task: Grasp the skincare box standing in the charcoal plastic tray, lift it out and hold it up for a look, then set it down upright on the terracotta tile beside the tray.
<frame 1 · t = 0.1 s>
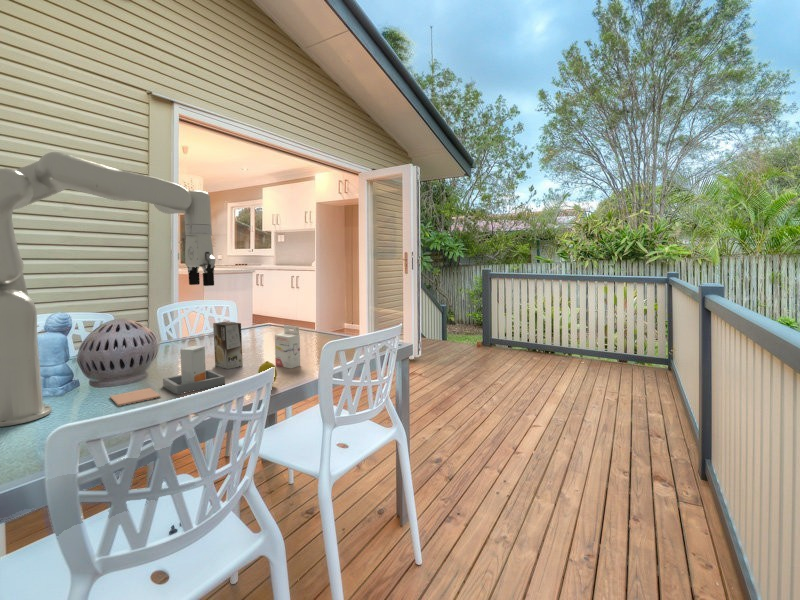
hand: (201, 285, 130), 31 cm above the table, tool pointing down, fingers open, 9 cm apart
skincare box: (194, 386, 127), resting in tray
tray: (194, 385, 127), on the table
ink cartridge box: (287, 366, 151), on the table
coffee box: (228, 366, 151), on the table
lemon: (267, 387, 125), on the table
tile: (135, 397, 115), on the table
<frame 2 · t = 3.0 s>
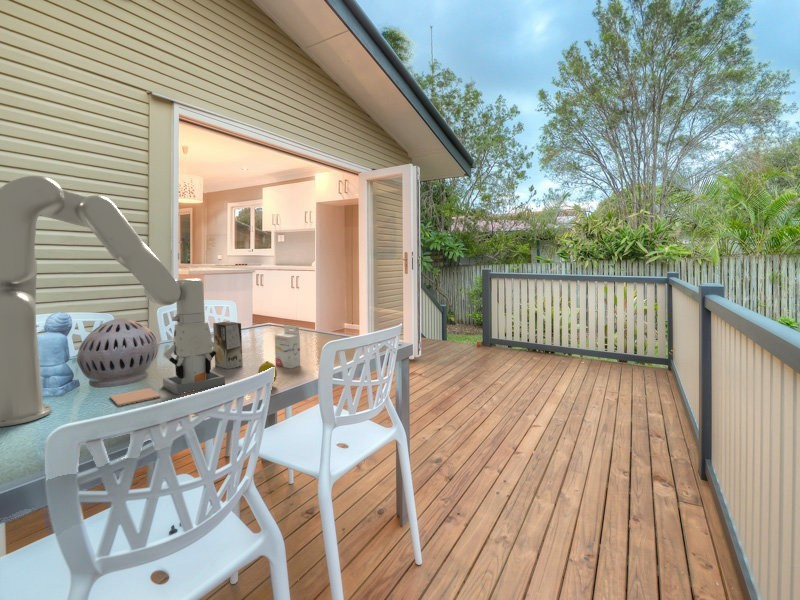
hand: (194, 374, 127), 3 cm above the table, tool pointing down, fingers closed on skincare box, 7 cm apart
skincare box: (194, 385, 127), resting in tray, touching gripper
everything else where it was.
when the fingers open (5 cm above the table, at t = 10.8 s): skincare box drops 1 cm, resting on tile.
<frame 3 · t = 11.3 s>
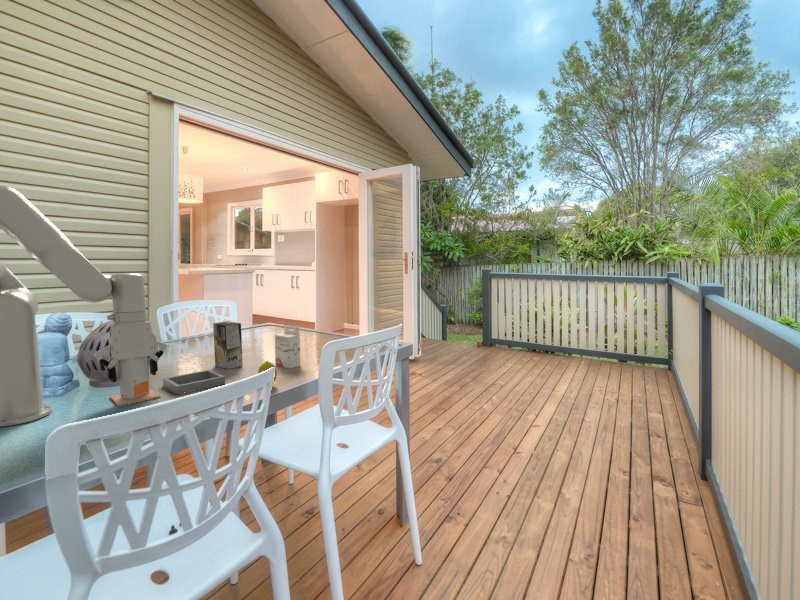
hand: (133, 377, 115), 6 cm above the table, tool pointing down, fingers open, 9 cm apart
skincare box: (135, 396, 115), resting on tile
everything else where it was.
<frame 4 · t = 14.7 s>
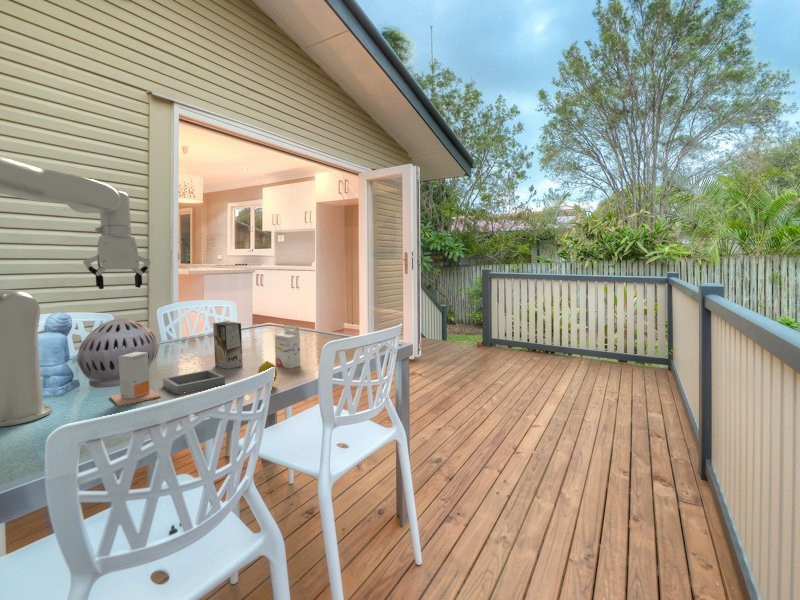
hand: (120, 288, 126), 30 cm above the table, tool pointing down, fingers open, 9 cm apart
nothing on the table moved.
at the end: skincare box inside the target area on the tile (0.2 cm from its centre), point 0.4 cm above the tile's base; skincare box tilted 0°; the gripper is holding nothing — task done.
